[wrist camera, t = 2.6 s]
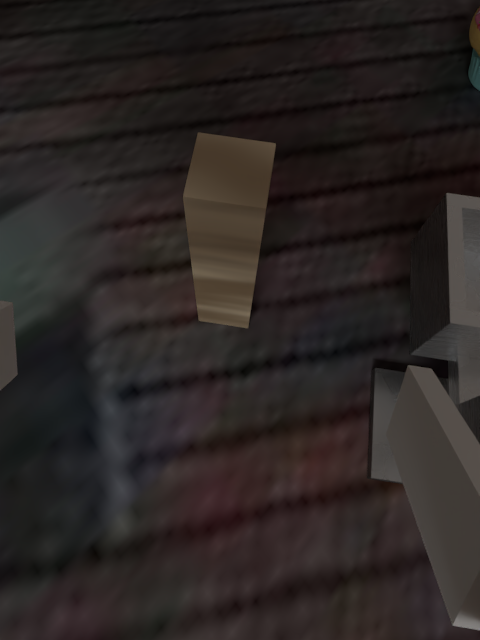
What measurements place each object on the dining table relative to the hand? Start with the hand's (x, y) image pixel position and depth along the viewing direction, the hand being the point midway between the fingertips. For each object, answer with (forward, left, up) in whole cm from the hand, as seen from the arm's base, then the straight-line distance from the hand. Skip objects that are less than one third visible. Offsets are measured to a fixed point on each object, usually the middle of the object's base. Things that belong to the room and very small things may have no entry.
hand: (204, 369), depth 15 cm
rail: (-8, +4, -15) cm, 18 cm away
